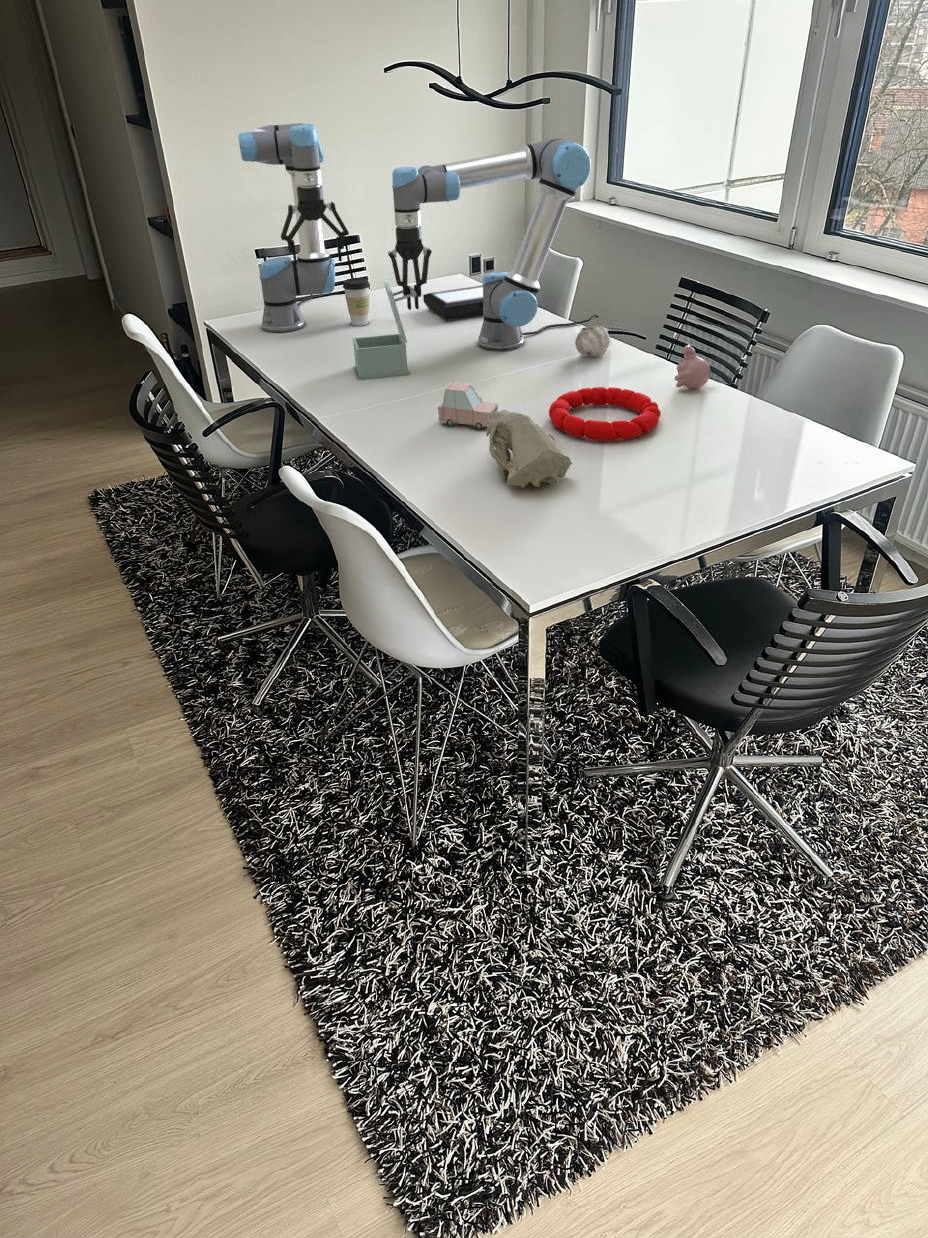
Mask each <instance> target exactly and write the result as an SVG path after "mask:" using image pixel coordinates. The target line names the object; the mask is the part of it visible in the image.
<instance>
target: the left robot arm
mask: <svg viewBox="0 0 928 1238" xmlns="http://www.w3.org/2000/svg"><path fill="white" fill-rule="evenodd" d="M319 136H320V135H319V132H318V129H317V127H316V125H315V124H313V123H306V122H305V123H304V122H303V123H302V122H301V123H300V122H299V123H287V124H270V125H269V124H268V125H264V126H261V127H258V128H255V129H253V130H251V131H247V132H240V133H239V134H238V145H239V152H240V157H241V160H242V161H243V162H252V163H254V162H256V163H260V164H265V165H273V166H275V165H276V166H278V165H279V166H280V165H284V167H285V171H286V172H287V173H288V174H289V175H290V177H291V186H292V193H293V194H292V195H293V202H294V205H292V204H288V205H287V215H286V218H285V222H284V224H283V227H282V230H281V233H280V239H281V241H286V242H287V248H288V253H289V254H292V258H293V260H292V258H291V257H290V256H277V257H272V258H270V259H267V260H264V261H263V262H261V263H260V265H259V266H258V270H259V280H260V285H261V286H260V287H261V292H262V299H263V313H262V319H261V326H262V330H264V331H265V332H271V333H286V332H293V331H296V330H297V331H298V330H300V329H302V328H304V326H305V319H304V317H303V314H302V312H301V310H300V307H299V306H300V305H301V304H303V303H305V302H307V301H310V300H312V299H313V297H314V295H324V294H331V293H333V291H334V290H335V286H336V285H335V284H336V262H335V259H334V258H333V257H331V253H330V252H329V251H328V250H327V249H326V247H325V238H324V230H323V222H324V223H325V224H326V225H327V226H328V227H329V228H330V229H331V231H333V232H334V234H336V235H337V236H336V246H337V256H338V257H337V258H338V261H339V262H342V261H343V258H342V250H344V249H345V241H344V238H345V237H347V236H349V234H350V232H349V230H348V228H347V227H346V224H345V223H344V221H343V220H342V218H341V216H340V215H339V213H338V211H337V207H336V204H335V202H334V201H330V202H329V203H328V202H327V203H325V200H324V199H325V198H324V189H323V186H322V184H323V183H322V182H323V181H322V170H321V164H322V163H324V161H325V159H324V155H323V148H322V144H321V140H320V137H319ZM326 209H328V210H329V212H332V214H333V216H334V218H335V220H336V222H337V223H338V225H339V226H340V228H341V230H342V231H340V229H339V228H338V227H337V226H336V224H334V223H333V222H332V221H331V219H330V218H329V217H327V215H326V214H325V211H326ZM294 214H295V218H296V219H295V220H296V222H295V224H294V225H293V226H292V228H291V230H290V232H289V234H288V231H289V228H290V225H291V222H292V219H293V215H294ZM297 233H298V234H297ZM296 234H297V235H298V241H299V251H298V253H297V254H296V245H295V240H294V238H295V236H296ZM300 296H301V297H302V296H310V297H308V298H305V299H302V300H300V301H299V302H298V303H297V297H300Z"/></svg>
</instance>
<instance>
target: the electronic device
mask: <svg viewBox="0 0 928 1238" xmlns="http://www.w3.org/2000/svg"><path fill="white" fill-rule="evenodd" d="M422 297H423V304H425V306H426V307H427V309H428V310H429V311H430V312H432V313H434V314H435V315H436V316H439V317H440V318H441V319H444V320H445V321H447V322H448V321H455V320H461V319H466V318H475V317H480V316H483V286H482V284H481V285H476V286H469V287H462V288H455V289H448V290H441V291H440V290H439V291H435V292H428V293H425V294H422Z"/></svg>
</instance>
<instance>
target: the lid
mask: <svg viewBox="0 0 928 1238" xmlns="http://www.w3.org/2000/svg"><path fill="white" fill-rule="evenodd" d="M383 284H384V288H385V291H386V295H387V297H388V298H387V299H388V302H389V304H390V308H391V311H392V315H393V318H394V321H395V324H396V327H397V331H398V334H400V336H401V338H402V340H403V342H404V343H405V344H406V343H408V339H407V337H406V333H405V330H404V325H403V323H402V320H401V316H400V313H399V310H398V306H397V302H399V301H402V300H405V299H406V300H407V298H409V297H411V298H414V297H416V296H417V293H416V292H415V290H414V286H412V285H408V286H409V287H410V294H409V295H406V296H403V295H402V296H400V297H397V298H395V296H398V295H400V294H403V289H402V290H398V291H395V292H393V291H392V289H391V287H390V285H389V283H388V282H384V283H383Z"/></svg>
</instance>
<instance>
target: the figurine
mask: <svg viewBox="0 0 928 1238" xmlns="http://www.w3.org/2000/svg"><path fill="white" fill-rule="evenodd" d="M682 354H683V358H684V359H683V361H682V362H679V363H678V364H677V365H676V372H677V375H675V376H674V381H675V382H676V381H677V382H676V384H675V386H676V388H681V387H686V388H688V389H693V390H694V389H695V390H696V389H700V388H703V387H704V386H705V385H706V384H707V383H708V382H709V379H710V377H711V367H710V364H709V362H708V361H706V359H704V358H702V357H700V356H697V353H696V350H695V349H694V347H692V345H690V344H686V345H685V346H684V347H683V348H682Z"/></svg>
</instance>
